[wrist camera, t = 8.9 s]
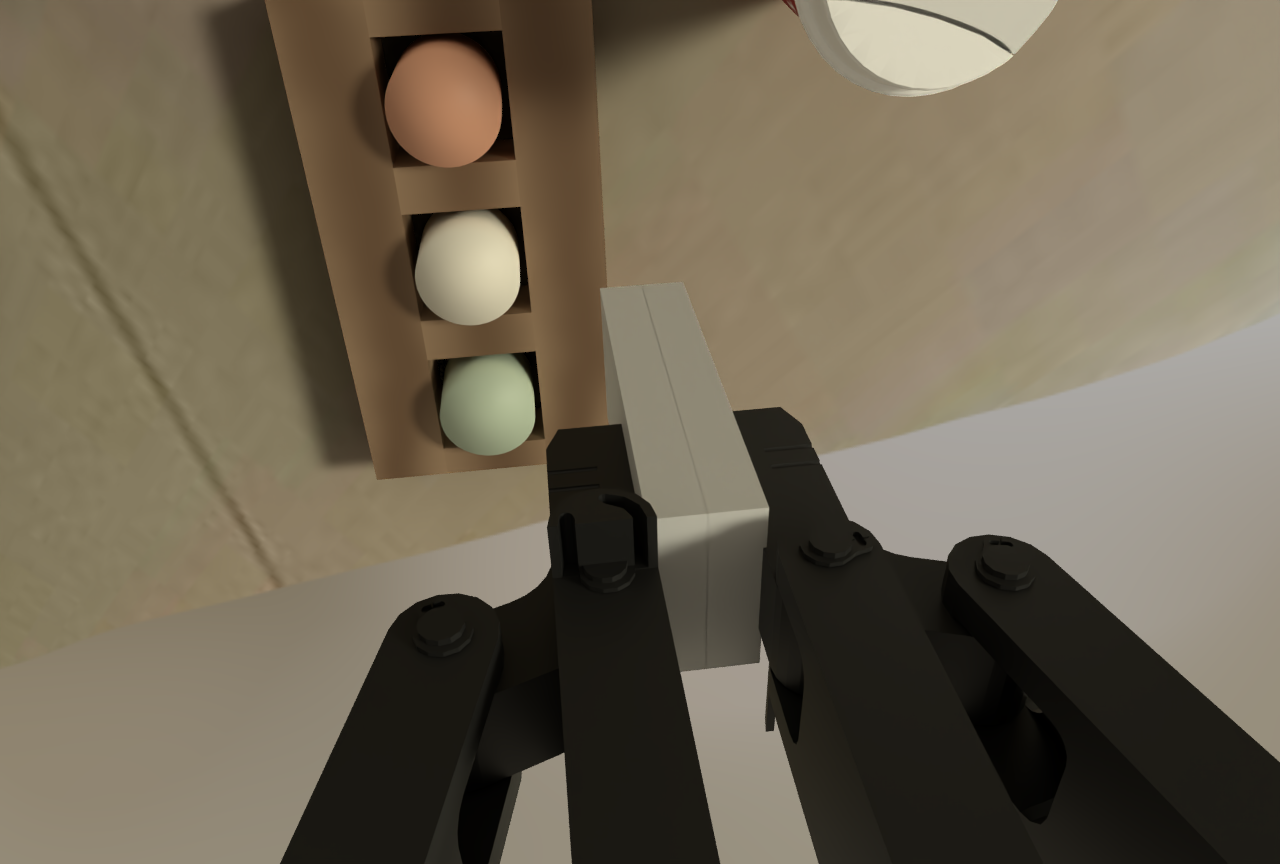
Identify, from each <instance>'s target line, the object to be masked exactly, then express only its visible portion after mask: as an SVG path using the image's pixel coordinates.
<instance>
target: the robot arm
mask: <svg viewBox="0 0 1280 864" xmlns="http://www.w3.org/2000/svg"><path fill="white" fill-rule="evenodd" d="M600 296H601V314H602V331H603V348H604V365H605V382H606V400H607V417H608V422H609V425H602V426H591V427H580V428H569V429H558V430H557V432H556V434H555V435H554V437H553V439H552V440H551V442H550V444H549V445H548V447H547V449H546V459H547V473H548V489H549V505H550V517H549V521H548V526H547V530H548V540H549V549H550V558H551V568H550V570H549V572H548V574H547V576H546V578H545V579H544V580H543V581H542V582H541V583H540V584H539V586H538V587H536V588H535V589H534V590H532V591H531V592H530V593H528V594H527V595H525V596H523V597H521V598H519V599H517V600H515V601H512V602H510V603H508V604H505V605H502V606H499V607H496V608H494V609H493V608H492V607H491V606H490V605H488V604H486V603H485V602H484V601H482V600H481V599H479V598H477V597H473V596H468V595H463V594H459V593H458V594H446V595H436V596H434V597H431V598H428V599H425V600H422V601H419V602H417V603H415V604H414V605H412V606H411V607H409V608H408V609H407V610H405V611H404V612H403V613H401V614H400V615H399V616H398V617H397V619H396V620H395V621H394V623H393V624H392V625H391V627H390V628H389V630H388V632H387V634H386V636H385V638H384V640H383V643H382V645H381V647H380V649H379V651H378V653H377V655H376V658H375V660H374V662H373V664H372V666H371V668H370V671H369V673H368V675H367V677H366V679H365V681H364V683H363V686H362V688H361V690H360V692H359V694H358V696H357V699H356V701H355V703H354V705H353V707H352V709H351V712H350V714H349V716H348V718H347V720H346V723H345V724H344V727H343V729H342V731H341V733H340V735H339V738H338V740H337V742H336V744H335V747H334V748H333V750H332V753H331V755H330V757H329V759H328V761H327V763H326V766H325V768H324V770H323V772H322V774H321V776H320V779H319V781H318V783H317V785H316V787H315V789H314V791H313V794H312V796H311V798H310V800H309V802H308V805H307V807H306V809H305V811H304V813H303V815H302V817H301V820H300V822H299V824H298V826H297V828H296V830H295V833H294V835H293V837H292V839H291V841H290V843H289V846H288V848H287V850H286V852H285V854H284V856H283V859H282V861H281V863H280V864H500V860H501V856H502V852H503V849H504V845H505V841H506V836H507V833H508V828H509V825H510V821H511V817H512V813H513V809H514V805H515V802H516V798H517V794H518V790H519V786H520V782H521V774H522V773H521V772H522V771H523V770H525V769H528V768H530V767H532V766H534V765H537V764H539V763H541V762H544V761H546V760H548V759H551V758H553V757H555V756H558V755H560V754H562V753H565V767H566V782H567V797H568V812H569V825H570V826H569V827H570V842H571V856H572V864H720V861H719V856H718V851H717V846H716V841H715V836H714V832H713V827H712V822H711V818H710V813H709V808H708V803H707V798H706V794H705V789H704V784H703V779H702V774H701V769H700V765H699V760H698V755H697V750H696V745H695V741H694V736H693V731H692V727H691V722H690V717H689V712H688V707H687V702H686V697H685V693H684V688H683V683H682V678H681V674H680V672H682V671H691V670H700V669H708V668H717V667H726V666H735V665H743V664H752V663H759V661H760V646H761V638H762V641H763V644H764V647H765V650H766V654H767V657H768V660H769V671H768V685H767V699H766V714H765V724H766V731H774V722H775V718H776V721H777V724H778V728H779V731H780V734H781V737H782V741H783V745H784V748H785V751H786V755H787V758H788V761H789V765H790V768H791V771H792V775H793V778H794V782H795V785H796V788H797V791H798V795H799V799H800V802H801V805H802V809H803V812H804V815H805V819H806V822H807V825H808V829H809V832H810V836H811V839H812V842H813V846H814V849H815V852H816V856H817V859H818V863H819V864H1280V762H1279V761H1277V759H1275V758H1274V757H1273V756H1272V755H1271V754H1270V753H1269V752H1268V751H1266V750H1265V749H1264V748H1263V747H1262V746H1261V745H1260V744H1259V743H1257V742H1256V741H1255V740H1254V739H1253V738H1252V737H1251V736H1250V735H1248V734H1247V733H1246V732H1245V731H1244V730H1243V729H1242V728H1241V727H1239V726H1238V725H1237V724H1236V723H1235V722H1234V721H1233V720H1232V719H1230V718H1229V717H1228V716H1227V715H1226V714H1225V713H1224V712H1223V711H1221V710H1220V709H1219V708H1218V707H1217V706H1216V705H1214V704H1213V703H1212V702H1211V701H1210V700H1209V699H1208V698H1207V697H1206V696H1204V695H1203V694H1202V693H1201V692H1200V691H1199V690H1198V689H1197V688H1196V687H1194V686H1193V685H1192V684H1191V683H1190V682H1189V681H1188V680H1187V679H1186V678H1184V677H1183V676H1182V675H1181V674H1180V673H1179V672H1178V671H1177V670H1175V669H1174V668H1173V667H1172V666H1171V665H1170V664H1169V663H1168V662H1166V661H1165V660H1164V659H1163V658H1162V657H1161V656H1160V655H1158V654H1157V653H1156V652H1155V651H1154V650H1153V649H1152V648H1151V647H1150V646H1148V645H1147V644H1146V643H1145V642H1144V641H1143V640H1142V639H1140V638H1139V637H1138V636H1137V635H1136V634H1135V633H1134V632H1133V631H1132V630H1130V629H1129V628H1128V627H1127V626H1126V625H1125V624H1124V623H1123V622H1121V621H1120V620H1119V619H1118V618H1117V617H1116V616H1115V615H1114V614H1112V613H1111V612H1110V611H1109V610H1108V609H1107V608H1106V607H1105V606H1103V605H1102V604H1101V603H1100V602H1099V601H1098V600H1096V598H1094V597H1093V596H1092V595H1091V594H1090V593H1089V592H1088V591H1086V590H1085V589H1084V588H1083V587H1082V586H1081V585H1080V584H1079V583H1078V582H1076V581H1075V580H1074V579H1073V578H1072V577H1071V576H1070V575H1069V574H1068V573H1066V572H1065V571H1064V570H1063V569H1062V568H1061V567H1060V566H1059V565H1057V564H1056V563H1055V562H1054V561H1053V560H1052V559H1051V558H1050V557H1048V556H1047V555H1046V554H1044V553H1042V552H1041V551H1040V550H1038V549H1037V548H1035V547H1034V546H1032V545H1031V544H1028V543H1025V542H1022V541H1019V540H1017V539H1014V538H1011V537H1005V536H997V535H982V536H974V537H969V538H967V539H965V540H963V541H961V542H959V543H957V544H956V545H955V546H954V548H953V549H952V551H951V552H950V554H949V555H948V559H947V562H945V561H937V560H929V559H921V558H914V557H907V556H903V555H898V554H894V553H891V552H888V551H886V550H883V548H882V546H881V545H880V543H879V542H878V540H877V539H876V538H875V537H874V536H873V534H872V533H871V532H870V531H869V530H867V529H865V528H863V527H862V526H860V525H858V524H857V523H855V522H853V521H849V520H848V518H847V515H846V514H845V512H844V509H843V508H842V505H841V503H840V501H839V499H838V497H837V495H836V493H835V491H834V489H833V487H832V485H831V483H830V481H829V479H828V477H827V475H826V472H825V470H824V468H823V466H822V465H821V464H820V463H819V458H818V456H817V454H816V452H815V450H814V448H812V445H811V442H810V440H809V438H808V436H807V434H806V431H805V429H804V427H803V425H802V424H801V423H800V422H799V421H798V420H796V419H795V418H794V417H792V416H791V415H790V414H789V413H787V412H786V411H785V410H783V409H782V408H781V407H775V408H764V409H753V410H742V411H732V409H731V406H730V404H729V401H728V399H727V396H726V393H725V391H724V388H723V385H722V383H721V380H720V378H719V375H718V372H717V370H716V367H715V365H714V362H713V359H712V357H711V354H710V351H709V349H708V346H707V344H706V341H705V338H704V336H703V333H702V330H701V328H700V325H699V323H698V320H697V317H696V315H695V312H694V310H693V307H692V304H691V302H690V299H689V296H688V294H687V291H686V289H685V286H684V283H683V282H674V283H661V284H648V285H636V286H623V287H610V288H600Z"/></svg>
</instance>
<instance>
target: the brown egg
mask: <svg viewBox="0 0 1280 864" xmlns="http://www.w3.org/2000/svg"><path fill="white" fill-rule="evenodd" d="M385 114H386V118H387V122H388V125H389V128H390V130H391V132H392V134H393V136H394V137H395V139H396V140H397V142H398V143H399V144H400V145H401V146H402V147H403V149H404V150H406V151H407V152H408V153H409V154H410V155H412V156H413V157H415V158H416V159H418V160H420V161H422V162H424V163H427V164H429V165H433V166H437V167H444V168H452V167H460V166H463V165H467V164H469V163H471V162H474V161H475V160H477V159H479V158H480V157H481V156H482V155H484V154H485V153H486V152H487V151H488V150H489V149H490V147H491V146H492V144H493V143H494V141H495V139H496V138H497V135H498V133H499V130H500V125H501V118H502V84H501V78H500V74H499V71H498V69H497V66H496V64H495V62H494V61H493V59H492V57H491V56H490V55H489V54H488V52H487V51H486V50H485V49H484V48H483V47H482V46H481V45H480V44H478V43H477V42H476V41H474V40H472V39H471V38H469V37H467V36H465V35H462V34H459V33H442V34H425V35H423V36H421V37H419V38H417V39H416V40H414V41H413V42H412V43H411V44H409V45H408V46H407V48H406V49H405V50H404V51H403V53H402V54H401V56H400V58H399V60H398V62H397V65H396V67H395V69H394V71H393V74H392V76H391V78H390V81H389V83H388V86H387V89H386V94H385Z"/></svg>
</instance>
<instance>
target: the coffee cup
mask: <svg viewBox="0 0 1280 864" xmlns="http://www.w3.org/2000/svg"><path fill="white" fill-rule="evenodd" d="M782 1H783V2H784V3H785V4H786V5H787V6H788V7H789V8H790V9H791V10H792V11H793V12H794V13H795V14H796V15H797V16H798V17H799V18H800V21H801V23H802V25H803V27H804V29H805V31H806V34H807V36H808V38H809V40H810V41H811V43H812V44H813V45H814V47H815V48H816V50H817V51H818V53H819V54H820V55H821V57H822V58H823V59H824V60H825V61H826V62H827V63H828V64H829V65H830V66H831V67H832V68H833V69H834V70H835V71H836V72H838V73H839V74H840V75H842V76H843V77H845V78H846V79H848V80H849V81H851V82H852V83H854V84H856V85H858V86H861V87H863V88H865V89H867V90H870V91H872V92H877V93H881V94H885V95H890V96H904V97H915V96H923V95H932V94H936V93H939V92H943V91H946V90H950V89H953V88H955V87H958V86H960V85H962V84H965V83H968V82H970V81H973V80H975V79H977V78H979V77H982V76H984V75H986V74H988V73H989V72H991V71H993V70H994V69H996V68H997V67H999V66H1001V65H1002V64H1004V63H1005V62H1007V61H1008V60H1009V59H1010V58H1011V57H1013V55H1011V54H1010V53H1013V54H1015V53H1016V52H1017V51H1018V50H1019V49H1020V48H1021V47H1022V46H1023V45H1024V43H1025V42H1026V41H1027V40H1028V39H1029V38H1030V37H1031V36H1032V35H1033V34H1034V32H1035V31H1036V30H1037V29H1038V27H1039V26H1040V25H1041V24H1042V23H1043V21H1044V20H1045V19H1046V18H1047V16H1048V15H1049V14H1050V13H1051V11H1052V9H1053V8H1054V6H1055V4H1056V3H1057V1H1058V0H782Z"/></svg>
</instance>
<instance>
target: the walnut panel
mask: <svg viewBox="0 0 1280 864" xmlns="http://www.w3.org/2000/svg"><path fill="white" fill-rule="evenodd" d="M265 4H266V8H267V13H268V17H269V21H270V26H271V30H272V34H273V38H274V43H275V47H276V51H277V55H278V60H279V64H280V68H281V72H282V77H283V81H284V85H285V89H286V94H287V98H288V102H289V106H290V111H291V115H292V119H293V124H294V128H295V132H296V136H297V141H298V145H299V149H300V153H301V158H302V162H303V166H304V170H305V175H306V179H307V183H308V187H309V192H310V196H311V200H312V205H313V209H314V213H315V217H316V222H317V226H318V230H319V234H320V239H321V243H322V247H323V251H324V256H325V260H326V264H327V268H328V273H329V277H330V281H331V285H332V290H333V294H334V298H335V303H336V307H337V311H338V315H339V320H340V324H341V328H342V332H343V337H344V341H345V345H346V349H347V354H348V358H349V362H350V366H351V371H352V375H353V379H354V384H355V388H356V392H357V396H358V401H359V405H360V409H361V413H362V418H363V422H364V426H365V430H366V435H367V439H368V443H369V447H370V452H371V456H372V460H373V464H374V469H375V473H376V477H377V480H380V479H391V478H402V477H412V476H423V475H433V474H444V473H455V472H465V471H476V470H486V469H497V468H508V467H518V466H529V465H539V464H547V459H546V449H547V447H548V445H549V444H550V442H551V440H552V439H553V437H554V435H555V434H556V432H557V430H558V429H569V428H580V427H591V426H602V425H609V422H608V417H607V400H606V382H605V365H604V348H603V331H602V314H601V296H600V288H607V276H606V258H605V239H604V220H603V202H602V183H601V164H600V145H599V127H598V108H597V89H596V71H595V52H594V33H593V14H592V0H265ZM497 30H502V35H503V44H504V54H505V63H506V73H507V82H508V92H509V101H510V111H511V120H512V130H513V139H506V140H495V141H494V143H493V144H492V146H491V147H490V149H489V150H488V151H487V152H486V153H485V154H484V155H482V156H481V157H480V158H479V159H477V160H475V161H474V162H471V163H469V164H467V165H463V166H460V167H452V168H444V167H437V166H433V165H429V164H427V163H424V162H422V161H420V160H418V159H416V158H415V157H413V156H412V155H410V154H409V153H408V152H407V151H406V150H404V149H403V147H402V146H400V145H399V143H398V142H397V140H396V139H395V137H394V136H393V134H392V132H391V130H390V128H389V125H388V122H387V118H386V114H385V94H386V89H387V86H388V83H389V82H388V76H387V70H386V64H385V59H384V53H383V47H382V41H381V37H387V36H406V35H424V34H442V33H461V32H479V31H497ZM508 207H521V216H522V225H523V235H524V244H525V254H526V263H527V273H528V282H529V285H523V286H520V287H519V291H518V295H517V297H516V299H515V301H514V303H513V304H512V306H511V307H510V308H509V309H508V310H507V311H506V312H505V313H504V314H503V315H501V316H500V317H499V318H497V319H495V320H493V321H490V322H488V323H484V324H480V325H460V324H455V323H452V322H449V321H447V320H445V319H442V318H441V317H439V316H438V315H436V314H435V313H434V312H432V311H431V310H430V309H429V308H428V307H427V306H426V304H425V303H424V302H423V300H422V298H421V297H420V295H419V292H418V290H417V286H416V281H415V269H416V264H417V259H418V248H417V243H416V237H415V231H414V225H413V220H412V214H423V213H437V212H452V211H466V210H480V209H494V208H508ZM531 351H536V359H537V368H538V378H539V387H540V397H541V406H542V408H535V423H534V427H533V429H532V432H531V433H530V435H529V437H528V438H527V439H526V440H525V441H524V442H523V443H522V444H521V445H520V446H518V447H517V448H515V449H513V450H511V451H509V452H506V453H503V454H499V455H488V456H487V455H478V454H473V453H470V452H467V451H465V450H463V449H461V448H459V447H458V446H456V445H455V444H454V443H453V442H452V441H451V440H450V439H449V438H448V437H447V436H446V434H445V432H444V430H443V428H442V425H441V422H440V408H441V399H442V386H441V381H440V375H439V369H438V363H437V359H448V358H460V357H472V356H484V355H496V354H507V353H519V352H531Z"/></svg>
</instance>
